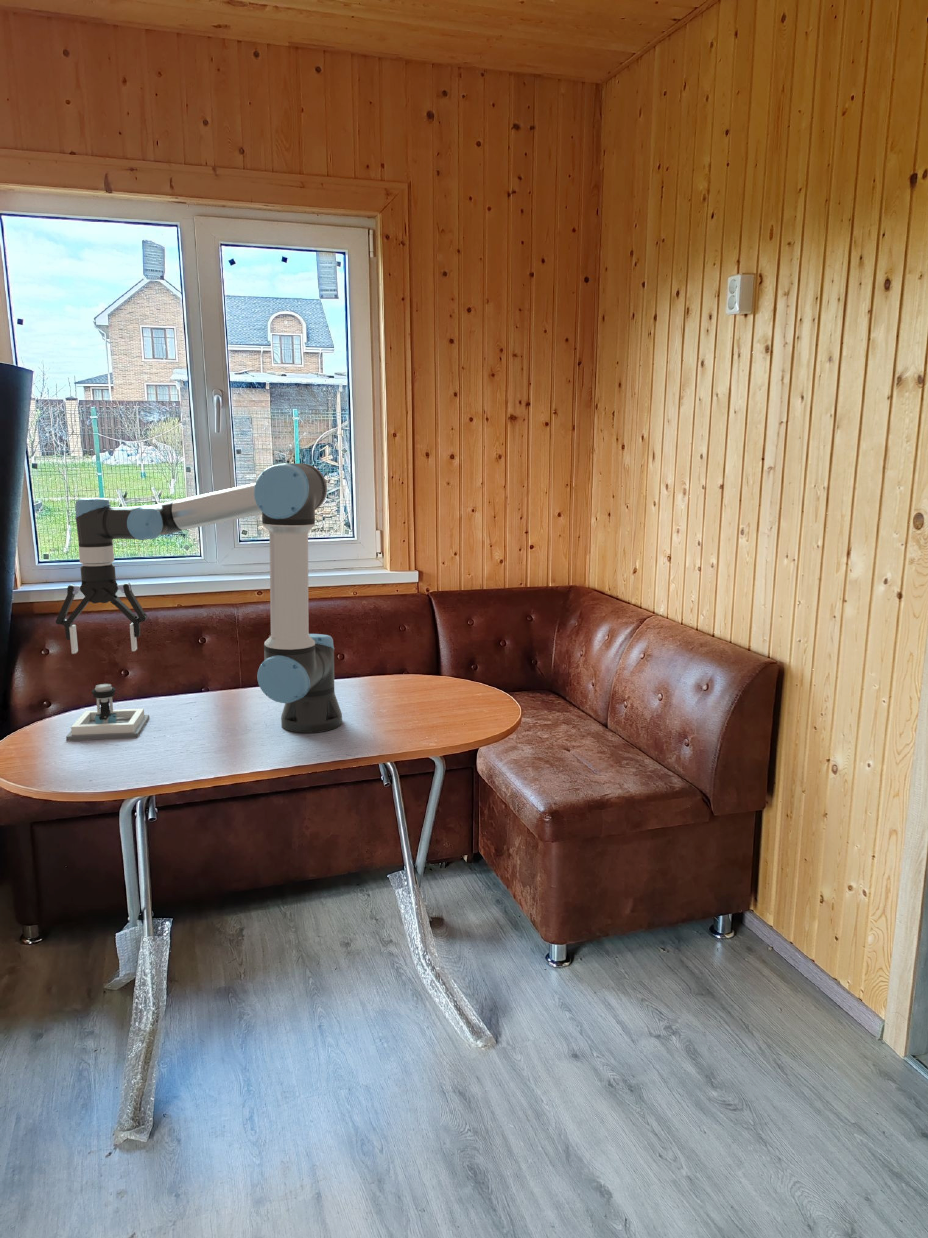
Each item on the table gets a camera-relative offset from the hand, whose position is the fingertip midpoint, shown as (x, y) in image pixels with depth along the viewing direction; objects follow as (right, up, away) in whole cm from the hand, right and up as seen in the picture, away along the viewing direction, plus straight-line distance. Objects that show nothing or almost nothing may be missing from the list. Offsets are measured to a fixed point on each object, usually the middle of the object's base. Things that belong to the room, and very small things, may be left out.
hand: (104, 651), depth 204 cm
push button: (0, -18, +3) cm, 19 cm away
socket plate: (0, -19, +4) cm, 20 cm away
